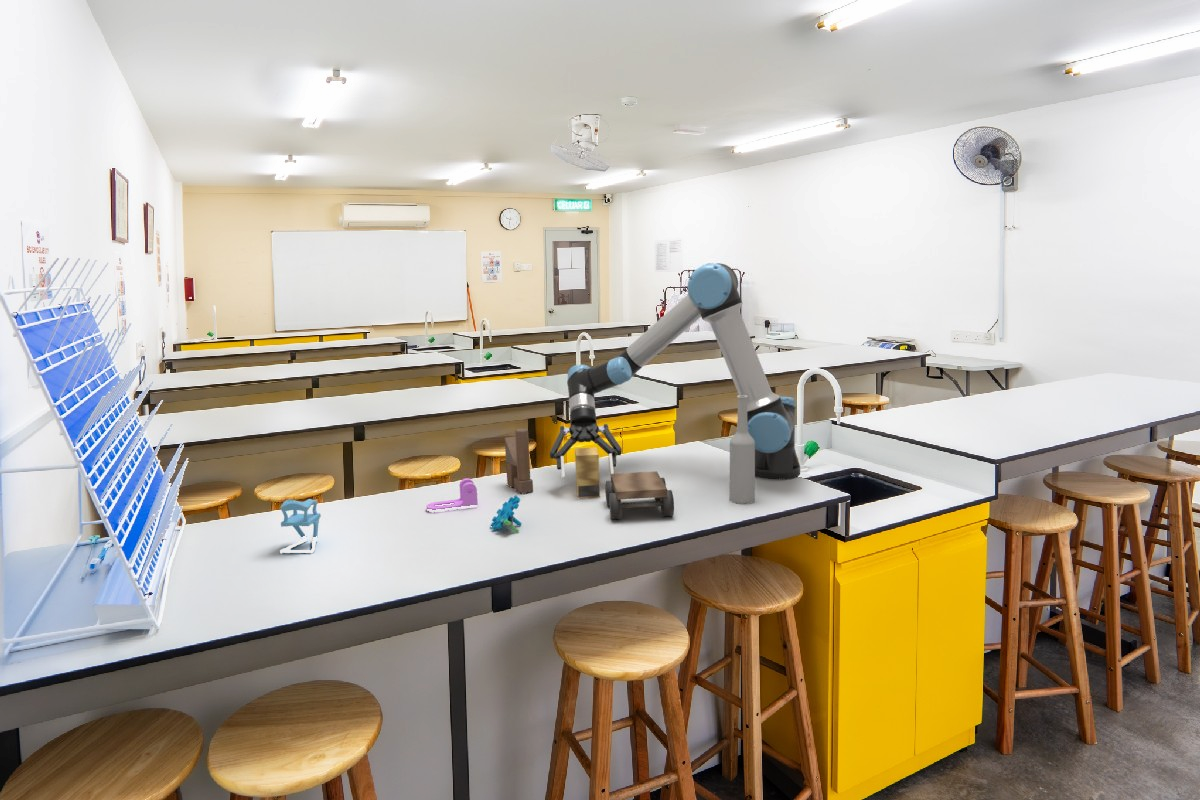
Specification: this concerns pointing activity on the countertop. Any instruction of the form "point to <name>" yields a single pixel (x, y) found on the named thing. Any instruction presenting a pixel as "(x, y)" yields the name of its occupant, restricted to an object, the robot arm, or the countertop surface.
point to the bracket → (466, 497)
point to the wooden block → (518, 461)
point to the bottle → (742, 459)
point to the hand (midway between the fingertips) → (587, 477)
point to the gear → (507, 515)
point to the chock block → (587, 473)
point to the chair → (300, 515)
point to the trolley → (638, 492)
